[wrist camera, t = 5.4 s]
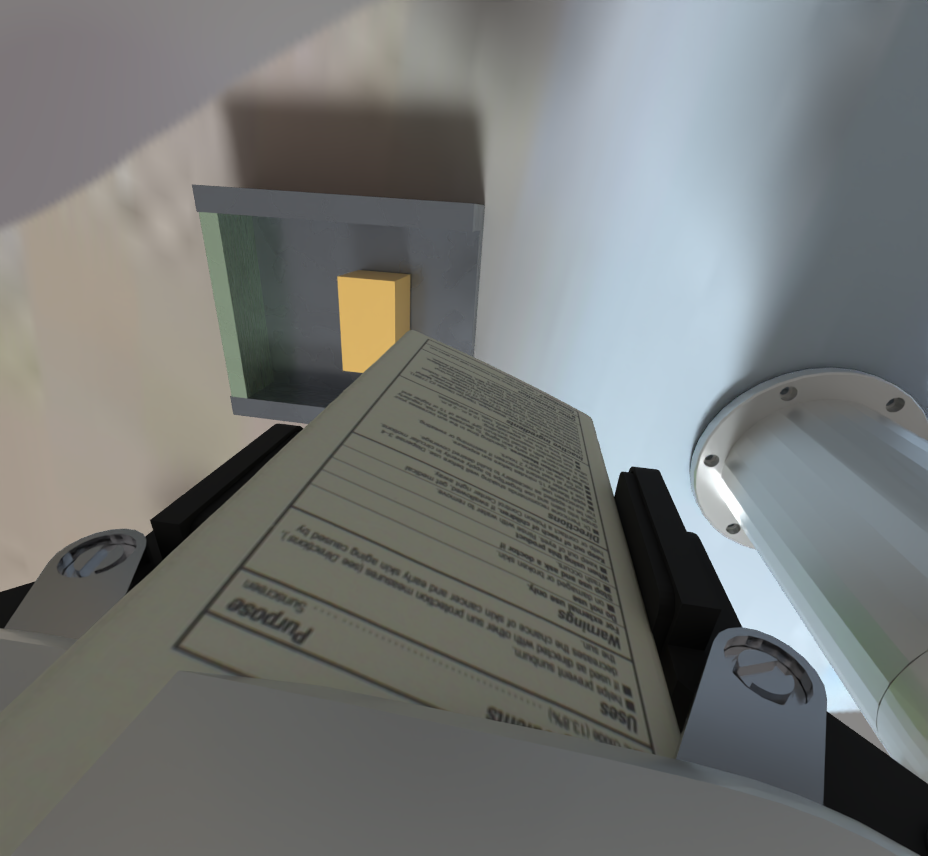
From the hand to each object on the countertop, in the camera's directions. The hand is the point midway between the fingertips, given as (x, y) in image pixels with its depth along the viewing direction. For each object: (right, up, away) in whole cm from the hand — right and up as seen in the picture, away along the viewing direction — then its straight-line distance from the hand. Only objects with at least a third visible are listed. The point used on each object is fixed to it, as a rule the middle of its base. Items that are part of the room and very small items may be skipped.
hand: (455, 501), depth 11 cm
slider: (-4, +8, +16) cm, 18 cm away
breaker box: (-6, +9, +17) cm, 20 cm away
